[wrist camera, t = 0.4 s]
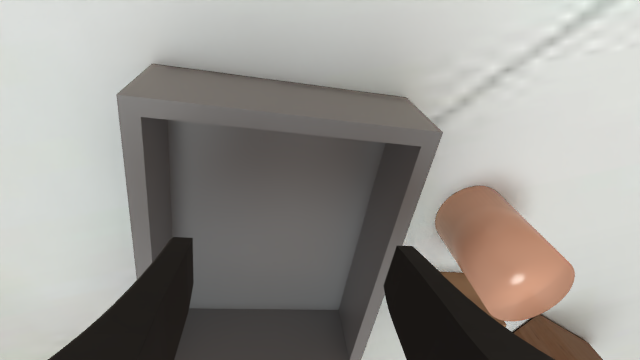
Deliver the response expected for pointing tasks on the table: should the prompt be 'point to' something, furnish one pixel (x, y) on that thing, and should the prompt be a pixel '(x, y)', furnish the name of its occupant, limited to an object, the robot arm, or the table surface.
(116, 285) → the table surface
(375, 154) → the tote
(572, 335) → the wooden block
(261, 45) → the table surface
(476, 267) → the terracotta cylinder
